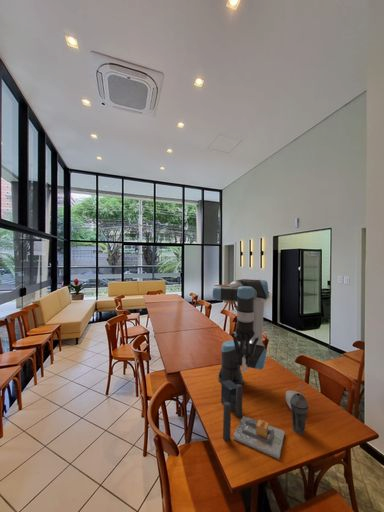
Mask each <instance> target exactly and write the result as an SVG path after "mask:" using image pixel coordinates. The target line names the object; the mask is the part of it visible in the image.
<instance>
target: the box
mask: <svg viewBox="0 0 384 512" xmlns="http://www.w3.org/2000/svg"><path fill="white" fill-rule="evenodd" d="M220 384H221V385H220V387H221V390H220V392H221V394H220V395H221V398H220V401H221V404H223V405H224V403H225V402H229V403H230V404H231V411H234V410H236V384H234V383H233V382H232V381H231V380H227V381H223V382H222V383H220Z"/></svg>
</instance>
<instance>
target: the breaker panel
mask: <svg viewBox="0 0 384 512" xmlns="http://www.w3.org/2000/svg"><path fill="white" fill-rule="evenodd" d="M257 422H258V420H256V419H254V418H251V417H248V416H246V415H242V417H241V419H240V422H239V424H238V425H237V427H236V429H235V431H234V433H233V435H232V438H233V440H234V441H236V442H239V443H242V444H244V445H246V446H248V447H250V448H253V449H254V450H257V451H259V452H261V453H264V454H266V455H268V456H271V457H273V458H274V459H276V460H280V458H281V453H282V448H283V444H284V438H285V430H283V429H280V428H278V427H275V426H272V425H269V424H268V435H267V438H264V437H261V436H259V435H256V425H257Z"/></svg>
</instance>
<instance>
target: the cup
mask: <svg viewBox="0 0 384 512" xmlns="http://www.w3.org/2000/svg"><path fill="white" fill-rule="evenodd" d="M295 393H299V394H300V392H298V391H296V390H287V391H286V392H285V401H286V404H287V406H288V407H289V409H290V410H291V403H290V399H291V397H292V395H293V394H295Z"/></svg>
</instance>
